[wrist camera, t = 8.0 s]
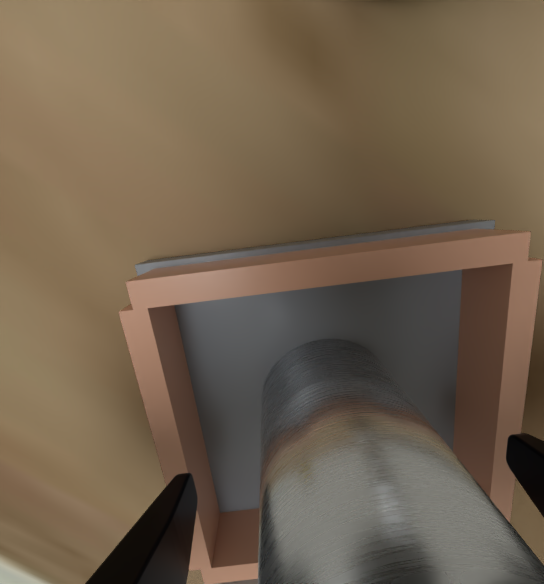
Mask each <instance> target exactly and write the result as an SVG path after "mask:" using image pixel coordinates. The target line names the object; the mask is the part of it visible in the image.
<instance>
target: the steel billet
mask: <svg viewBox="0 0 544 584" xmlns="http://www.w3.org/2000/svg"><path fill="white" fill-rule="evenodd" d="M258 584H544V565H543V564H542V563H541V561H540V560H539V559H538V558H537V556H536V555H535V554H534V553H533V551H532V550H531V549H530V548H529V546H528V545H527V544H526V543H525V541H524V540H523V539H522V538H521V536H520V535H519V534H518V533H517V531H516V530H515V529H514V528H513V526H512V525H511V524H510V523H509V521H508V520H507V519H506V518H505V516H504V515H503V514H502V513H501V511H500V510H499V509H498V508H497V506H496V505H495V504H494V503H493V501H492V500H491V499H490V498H489V496H488V495H487V494H486V493H485V491H484V490H483V489H482V488H481V486H480V485H479V484H478V483H477V481H476V480H475V479H474V478H473V476H472V475H471V474H470V473H469V471H468V470H467V469H466V468H465V466H464V465H463V464H462V463H461V461H460V460H459V459H458V458H457V456H456V455H455V454H454V453H453V451H452V450H451V449H450V448H449V446H448V445H447V444H446V443H445V441H444V440H443V439H442V438H441V436H440V435H439V434H438V433H437V431H436V430H435V429H434V428H433V426H432V425H431V424H430V423H429V421H428V420H427V419H426V418H425V416H424V415H423V414H422V413H421V411H420V410H419V409H418V408H417V406H416V405H415V404H414V403H413V401H412V400H411V399H410V398H409V396H408V395H407V394H406V393H405V391H404V390H403V389H402V388H401V386H400V385H399V384H398V383H397V381H396V380H395V379H394V378H393V376H392V375H391V374H390V373H389V371H388V370H387V369H386V368H385V366H384V365H383V364H382V363H381V361H380V360H379V359H378V358H377V357H376V356H375V355H374V354H373V353H372V352H371V351H369V350H367V349H366V348H364V347H363V346H360V345H358V344H356V343H353V342H350V341H346V340H341V339H321V340H315V341H311V342H308V343H305V344H302V345H300V346H298V347H296V348H294V349H292V350H291V351H289V352H288V353H286V354H285V355H284V356H282V357H281V358H280V359H279V360H278V361H277V362H276V363H275V365H274V366H273V367H272V369H271V370H270V372H269V374H268V376H267V377H266V380H265V383H264V386H263V390H262V405H261V453H260V501H259V550H258Z"/></svg>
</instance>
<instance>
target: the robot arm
mask: <svg viewBox="0 0 544 584" xmlns="http://www.w3.org/2000/svg"><path fill="white" fill-rule="evenodd" d="M506 461H507V464H508V466H509V468H510V470H511V471H512V472H513V474H514V475H515V477H516V478H517V480H518V481H519V483H520V484H521V485H522V487H523V488H524V490H525V491H526V493H527V494H528V495H529V497H530V498H531V500H532V501H533V503H534V504H535V505H536V507H537V508H538V510H539V511H540V513H541V514H542V516H543V517H544V441H542V440H540V439H538V438H536V437H533V436H531V435H529V434H526V433H520V434H512V435H510V436H509V437H508V441H507V450H506ZM197 502H198V497H197V491H196V487H195V483H194V479H193V476H192V474H191V473H182V474H177V475H176V476H175V477H174V478H173V479H172V480H171V481H170V483H169V484H168V485H167V486H166V487H165V489H164V490H163V491H162V492H161V493H160V495H159V496H158V497H157V498H156V499H155V501H154V502H153V503H152V504H151V505H150V507H149V508H148V509H147V510H146V511H145V513H144V514H143V515H142V516H141V517H140V519H139V520H138V521H137V522H136V523H135V525H134V526H133V527H132V528H131V529H130V531H129V532H128V533H127V534H126V535H125V537H124V538H123V539H122V540H121V541H120V543H119V544H118V545H117V546H116V547H115V549H114V550H113V551H112V552H111V553H110V555H109V556H108V557H107V558H106V559H105V561H104V562H103V563H102V564H101V565H100V567H99V568H98V569H97V570H96V571H95V573H94V574H93V575H92V576H91V577H90V579H89V580H88V581H87V582H86V583H85V584H186V581H187V576H188V571H189V564H190V557H191V549H192V541H193V534H194V526H195V519H196V511H197Z"/></svg>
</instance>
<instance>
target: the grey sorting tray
mask: <svg viewBox="0 0 544 584" xmlns="http://www.w3.org/2000/svg"><path fill="white" fill-rule="evenodd" d="M494 227H495V220H468V221H460V222H452V223H444V224H436V225H428V226H420V227H412V228H404V229H396V230H388V231H380V232H372V233H364V234H356V235H348V236H340V237H332V238H324V239H316V240H308V241H300V242H291V243H283V244H275V245H267V246H259V247H251V248H243V249H235V250H227V251H219V252H211V253H203V254H195V255H187V256H179V257H171V258H163V259H155V260H147V261H144V262H142V263H139V264H136V265H135V267H136V271H137V277H135V278H133V279H131V280H128V281H126V285H127V289H128V293H129V296H130V300H131V304H130V305H128V306H127V307H125V308H124V309H122V310H121V311H119V315H120V319H121V322H122V326H123V330H124V333H125V337H126V341H127V344H128V348H129V352H130V355H131V359H132V363H133V366H134V370H135V373H136V377H137V381H138V384H139V388H140V392H141V395H142V399H143V403H144V406H145V410H146V414H147V417H148V421H149V424H150V428H151V432H152V435H153V439H154V443H155V446H156V450H157V454H158V457H159V461H160V465H161V468H162V472H163V475H164V479H165V483H166V486H167V485H168V484H169V483H170V481H171V480H172V479H173V478H174V477H175V476H176V475H177V474H182V473H191V474H192V476H193V479H194V483H195V487H196V491H197V497H198V502H197V511H196V519H195V526H194V534H193V541H192V549H191V557H190V564H189V570H190V571H191V570H200V569H201V573H202V577H203V581H204V584H258V550H259V501H260V453H261V405H262V390H263V386H264V383H265V380H266V377H267V376H268V374H269V372H270V370H271V369H272V367H273V366H274V365H275V363H276V362H277V361H278V360H279V359H280V358H281V357H282V356H284V355H285V354H286V353H288V352H289V351H291V350H292V349H294V348H296V347H298V346H300V345H302V344H305V343H308V342H311V341H315V340H321V339H341V340H346V341H350V342H353V343H356V344H358V345H360V346H363V347H364V348H366V349H367V350H369V351H371V352H372V353H373V354H374V355H375V356H376V357H377V358H378V359H379V360H380V361H381V363H382V364H383V365H384V366H385V368H386V369H387V370H388V371H389V373H390V374H391V375H392V376H393V378H394V379H395V380H396V381H397V383H398V384H399V385H400V386H401V388H402V389H403V390H404V391H405V393H406V394H407V395H408V396H409V398H410V399H411V400H412V401H413V403H414V404H415V405H416V406H417V408H418V409H419V410H420V411H421V413H422V414H423V415H424V416H425V418H426V419H427V420H428V421H429V423H430V424H431V425H432V426H433V428H434V429H435V430H436V431H437V433H438V434H439V435H440V436H441V438H442V439H443V440H444V441H445V443H446V444H447V445H448V446H449V448H450V449H451V450H452V451H453V453H454V454H455V455H456V456H457V458H458V459H459V460H460V461H461V463H462V464H463V465H464V466H465V468H466V469H467V470H468V471H469V473H470V474H471V475H472V476H473V478H474V479H475V480H476V481H477V483H478V484H479V485H480V486H481V488H482V489H483V490H484V491H485V493H486V494H487V495H488V496H489V498H490V499H491V500H492V501H493V503H494V504H495V505H496V506H497V508H498V509H499V510H500V511H501V513H502V514H503V515H504V516H505V518H506V519H507V520H508V521H509V523H510V518H511V510H512V502H513V494H514V486H515V475H514V474H513V472H512V471H511V470H510V468H509V466H508V464H507V461H506V450H507V441H508V437H509V436H510V435H512V434H520V433H521V429H522V421H523V413H524V405H525V397H526V389H527V381H528V373H529V365H530V356H531V348H532V340H533V332H534V324H535V316H536V308H537V300H538V292H539V284H540V276H541V268H542V259H535V258H529V257H528V254H529V245H530V236H531V231H514V230H495V229H494Z"/></svg>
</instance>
